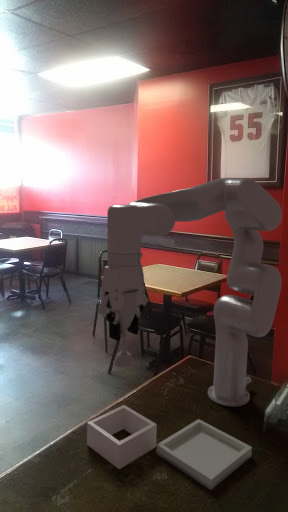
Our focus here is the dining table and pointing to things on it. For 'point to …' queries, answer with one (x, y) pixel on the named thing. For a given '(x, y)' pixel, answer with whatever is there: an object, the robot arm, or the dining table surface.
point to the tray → (204, 453)
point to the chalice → (125, 320)
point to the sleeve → (128, 447)
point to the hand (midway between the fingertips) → (123, 335)
